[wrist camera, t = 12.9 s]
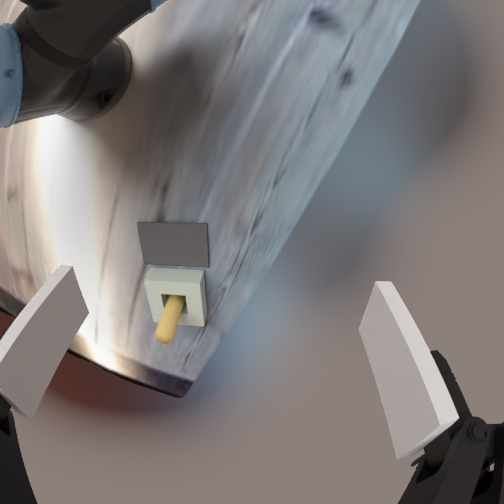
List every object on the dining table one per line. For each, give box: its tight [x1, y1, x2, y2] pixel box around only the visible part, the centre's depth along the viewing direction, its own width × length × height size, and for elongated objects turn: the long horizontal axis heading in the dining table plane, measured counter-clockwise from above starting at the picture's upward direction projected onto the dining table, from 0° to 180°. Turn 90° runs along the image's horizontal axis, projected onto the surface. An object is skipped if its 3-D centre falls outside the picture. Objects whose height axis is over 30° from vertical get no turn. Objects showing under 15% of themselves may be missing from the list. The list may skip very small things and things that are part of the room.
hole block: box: [144, 267, 207, 327], centre depth 49 cm, size 10×10×4 cm
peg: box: [155, 295, 186, 344], centre depth 46 cm, size 3×3×12 cm
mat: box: [137, 222, 209, 267], centre depth 46 cm, size 12×8×1 cm, turn 88°
